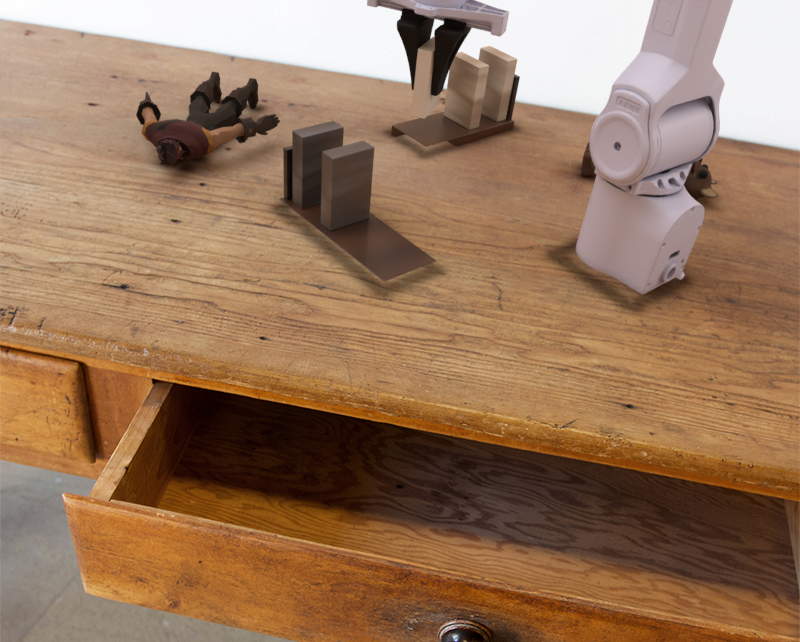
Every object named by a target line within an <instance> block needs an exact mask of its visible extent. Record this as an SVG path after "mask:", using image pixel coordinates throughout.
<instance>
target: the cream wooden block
mask: <svg viewBox="0 0 800 642" xmlns="http://www.w3.org/2000/svg"><path fill="white" fill-rule="evenodd" d="M434 59H435V37H434V36H431V38H430V40H428V41H427V42H426V43H425V44H423V45H422V46H421V47H420V48H419V49H418V54H417V63H416V73H415V82H414V90H412V92H413V93H412V102H411V111H410V116H411V117H416V118H423V119H425V118H426V117H427V116H429V115H431V113H433V111H434V110H435V109H436V108H437V107H438V106H439V104H440V97H441V93H440V94H439V95H437V96H434V95H431V82H432V76H433V70H434Z"/></svg>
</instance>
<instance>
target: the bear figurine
mask: <svg viewBox="0 0 800 642" xmlns="http://www.w3.org/2000/svg"><path fill="white" fill-rule="evenodd" d="M703 159H704V157H703V158H702V159H700V160H698V161H696V162H692V163H693V164H692V166H691V169H690V171H689V174H688V176H687V178H686V181H685V183H684V187H685V189H686V190H687V192H688V193H689V194H690V196H691V197H692V198H694V199H695V200H696V199H702V198H704V197H706V198H709V199H716V198H718V197H719V193H717V192H716V191H715V190H714V189H713V188H712V185H718V181H717V180H716V179H714V178H712V173H711V171H710V170H709V165H708V164H705V163H703V164H702V162H703ZM581 161H582V162H581V168H580V173H581V175H582V176H597V175H596V174H595V173H594V172H595V168H596V167H595V166H594V163H593V161H592V158H591V154H590V147H589V141H588V142H587V144H586V147H585V150H584V152H583V155H582V160H581Z"/></svg>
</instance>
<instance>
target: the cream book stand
mask: <svg viewBox="0 0 800 642" xmlns="http://www.w3.org/2000/svg"><path fill="white" fill-rule="evenodd" d="M517 64H518V58H516V57H514V56H513V55H510V54H508V53H506V52H503V50H500V49H497V48H495V47H493V46H491V45H487V46H482V47H480V49H479V54H478V59H477V58H475V57H473V56H471V55H470V54H468V53H466V52H463V51H458V52H457V54H456V56H455V58H454V60H453V62H452V64H451V67H450V69H449V72H448V76H447V77H448V78H447V84H446V93H445V100H444V106H443V111H441V112H437V113H433V114H429V115H428V116H427V117H426V118H425V119H423V118H419V117H417V118H415V119H410V120H407V121H403V122H400V123H396V124H392V125H391V131H390V133H391V135H393V136H394V137H396V138H397V137H401V136H404V135H406V136H408V137H409V138H411V139H413V140H414V141H416V142H418V143H419V144H420V145H423V146H424V147H426V148H427V147H430V146H434V145H438V144H441V143H445V142H447V143H449V144H450V145H453V146H454V147H456V146H460V145H463V144H466V143H467V144H468V143H470V142H473V141H477V140H481V139H483V138H486V137H490V136H493V135H497V134H501V133H503V132H507V131H511V130H513V129H514V126H515V120H514V119H513V113H514V109H515V104H516V98H517V94H518V88H519V83H520V79H521V76H520V75H517V74H516V70H517Z"/></svg>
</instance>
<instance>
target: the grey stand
mask: <svg viewBox="0 0 800 642" xmlns="http://www.w3.org/2000/svg"><path fill="white" fill-rule="evenodd" d="M344 129H345V128H344V126H343V125H341V124H340V123H338V122H337V121H335V120H330V121H326V122H322V123H318V124H314V125H309V126H306V127H302V128H298V129H294V130H292V131H291V134H292V137H291V138H292V140H291V141H292V142H291V144H292V145H288V146H285V147H283V149H282V152H283V153H282V154H283V155H282V158H283V159H282V160H283V161H282V162H283V163H282V164H283V197H279V198H278V199H279V201H281V202H282V204H285V205H286V206H287V207H288V208H289V209H291V210H292V211H293V212H295V213H296V214H297V215H299V216H300V217H301V218H302V219H304V221H306V222H307V223H308V224H309V225H311V226H312V227H314V228H315V229H316V230H318V231H319V232H320V233H322V234H323V236H325V237H326V238H328V239H329V240H330V241H331V242H333V243H334V244H335V245H336V246H337V247H339V248H340V249H341V250H343V251H344V252H345V253H346V254H348V255H349V256H350V257H352V258H353V259H354V260H355V261H356V262H358V263H359V264H360V265H361V266H362V267H364V268H365V269H367V270H368V271H369V272H371V273H372V274H373V275H374V276H376V277H377V278H378V279H380V280H381V281H382V282H383V283H386V282H388V281H390V280H391V281H392V280H393V279H396V278H398V277H401V276H403V275H406V274H408V273H410V272H413V271H416V270H418V269H420V268H424V267H426V266H428V265H431V264H433V263H436V262H437V259H435V258H434V257H432V256H431V255H430V254H428V253H427V252H425V251H424V250H422V249H421V248H420V247H419V246H417V245H415V244H414V242H412V241H410V240H409V239H407V238H406V237H405V236H403V235H402V234H401V233H399V232H398V231H397V230H395V229H394V228H392V227H391V226H390V225H388V224H387V223H386V222H384V221H382V220H381V219H380V218H378V217H377V216H376V215H374V214H373V213H372V212H371V199H372V186H373V172H374V160H375V158H374V157H375V147H374V146H373V145H372V144H371V143H368V142H367V141H366V140H359V141H356V142H352V143H348V144H344V134H345V132H344V131H345V130H344Z"/></svg>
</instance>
